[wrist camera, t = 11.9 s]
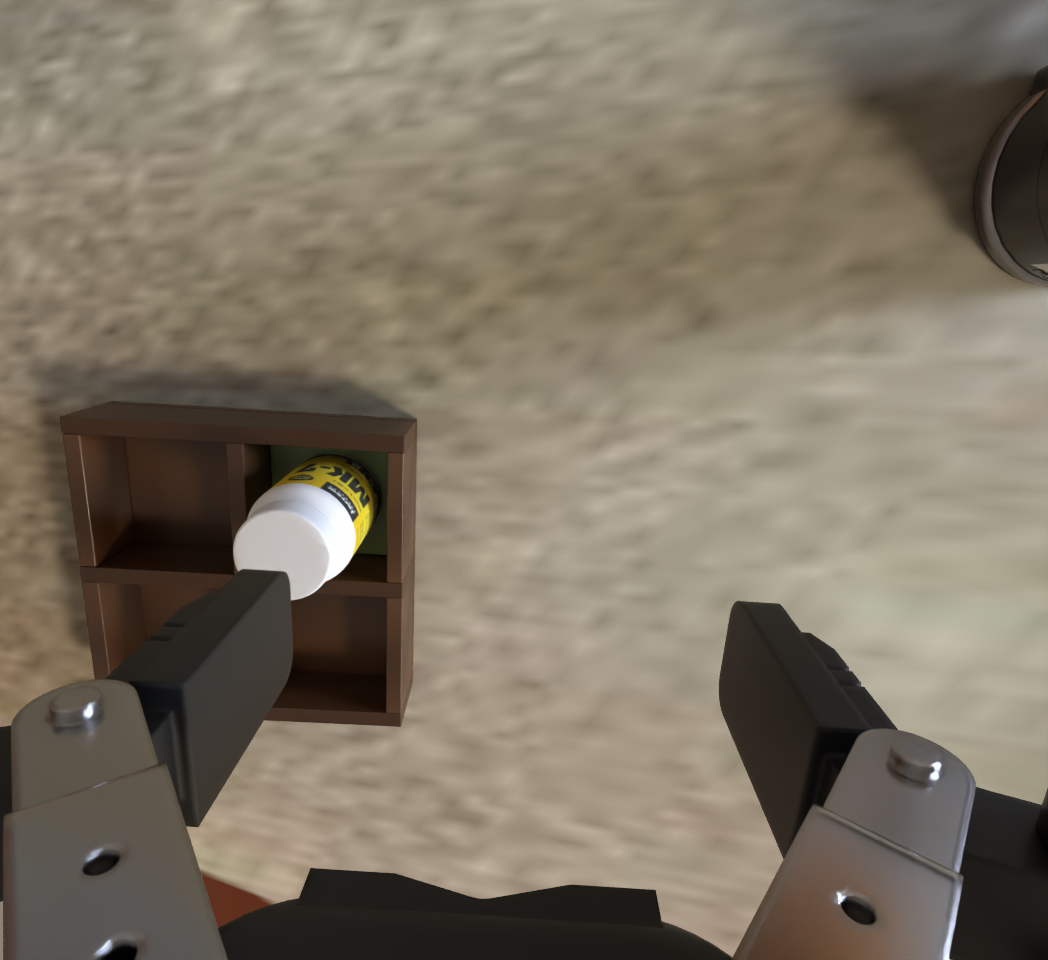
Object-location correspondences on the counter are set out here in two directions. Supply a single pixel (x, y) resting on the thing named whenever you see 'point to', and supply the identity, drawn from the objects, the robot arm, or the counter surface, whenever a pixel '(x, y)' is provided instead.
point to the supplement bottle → (310, 522)
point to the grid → (209, 532)
